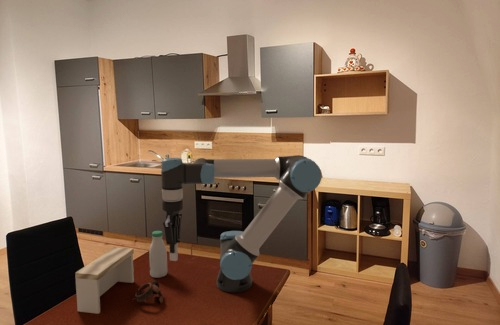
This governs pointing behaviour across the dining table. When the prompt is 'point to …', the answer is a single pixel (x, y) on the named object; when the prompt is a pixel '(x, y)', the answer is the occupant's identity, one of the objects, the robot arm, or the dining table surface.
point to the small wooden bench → (102, 277)
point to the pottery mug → (149, 292)
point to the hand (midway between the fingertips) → (173, 259)
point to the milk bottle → (158, 256)
